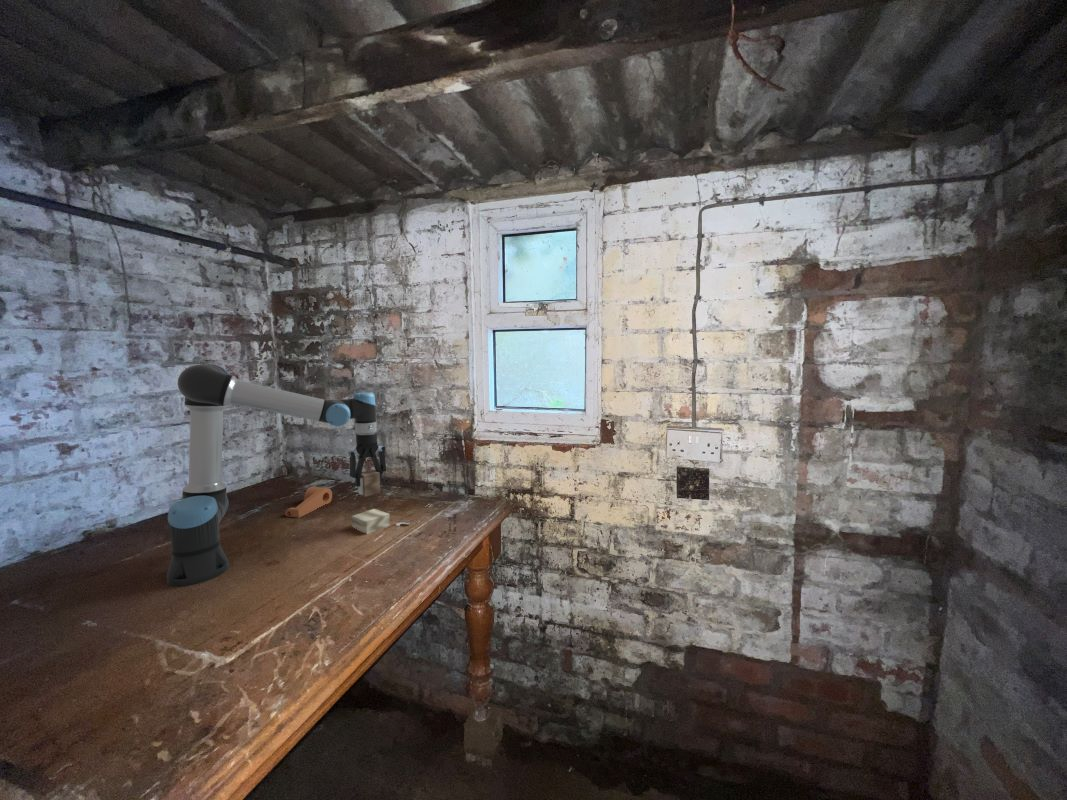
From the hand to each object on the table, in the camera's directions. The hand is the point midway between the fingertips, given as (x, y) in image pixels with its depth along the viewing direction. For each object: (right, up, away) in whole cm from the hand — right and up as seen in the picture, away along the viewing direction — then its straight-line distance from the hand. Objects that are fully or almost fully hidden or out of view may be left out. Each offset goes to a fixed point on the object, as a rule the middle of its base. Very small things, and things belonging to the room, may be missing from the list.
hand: (369, 492), depth 166 cm
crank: (-34, -12, +21) cm, 42 cm away
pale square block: (0, -14, +1) cm, 14 cm away
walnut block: (0, 0, 0) cm, 0 cm away
